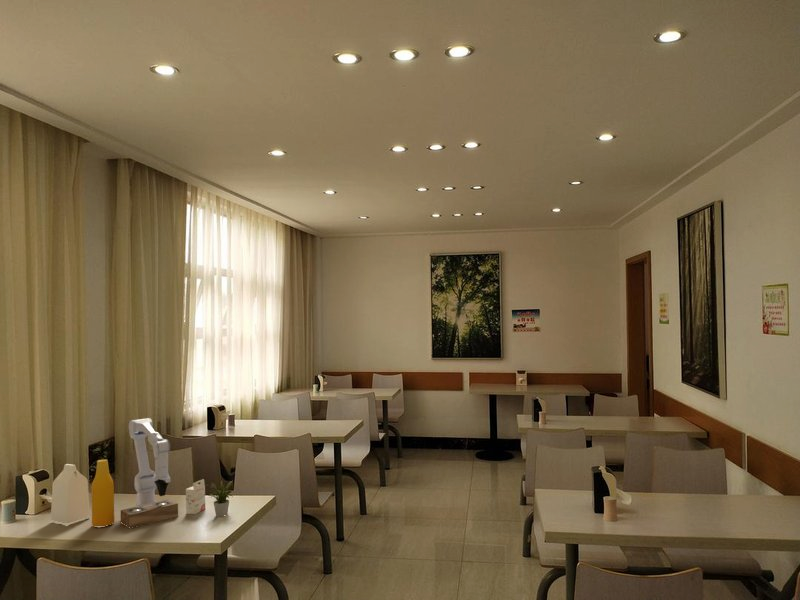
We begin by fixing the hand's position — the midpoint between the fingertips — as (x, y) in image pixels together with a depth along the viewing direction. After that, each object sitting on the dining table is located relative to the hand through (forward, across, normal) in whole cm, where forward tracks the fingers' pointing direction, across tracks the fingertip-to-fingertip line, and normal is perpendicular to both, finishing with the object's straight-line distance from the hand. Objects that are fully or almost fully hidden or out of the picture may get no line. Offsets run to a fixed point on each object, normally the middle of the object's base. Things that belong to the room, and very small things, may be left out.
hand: (162, 495), depth 282 cm
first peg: (+10, 0, -12) cm, 15 cm away
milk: (+10, -29, -31) cm, 44 cm away
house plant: (+10, +20, +18) cm, 29 cm away
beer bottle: (+10, -10, -23) cm, 27 cm away
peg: (+10, 0, 0) cm, 10 cm away
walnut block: (+10, 0, -6) cm, 11 cm away
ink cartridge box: (+10, +5, +14) cm, 18 cm away
